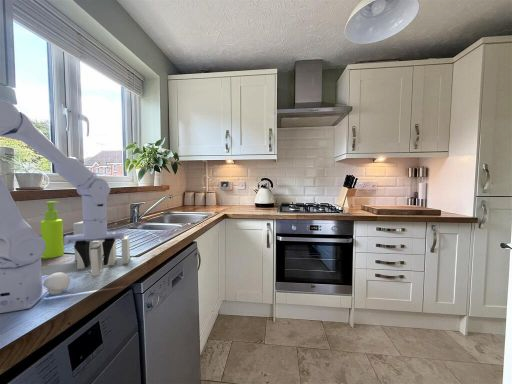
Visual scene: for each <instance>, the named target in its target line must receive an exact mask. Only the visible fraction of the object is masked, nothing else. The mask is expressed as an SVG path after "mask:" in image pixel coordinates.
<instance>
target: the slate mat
mask: <svg viewBox="0 0 512 384" xmlns="http://www.w3.org/2000/svg"><path fill="white" fill-rule="evenodd" d="M116 258H117V260H116V262H115V264H114V265H108V264H107V265H104V259H103V262H102V270H104V269H108V268H109V269H111V268H119V267H126V266H128V265H129V264H130V260H131V258H132V256H130V260H129V262H128V263H125V264H122V257H116ZM41 269H42V277H43V276H50V275H51V274H54V273H58V272H62V273H65V274H69V273H76V272H77V273H78V272H85V271H91V260H90V265H89V266H88V267H85V268H82V269H77V262H69V263H62V264H52V265H51V264H50V265H45V266H44V267H42V268H41Z"/></svg>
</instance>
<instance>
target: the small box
mask: <svg viewBox="0 0 512 384" xmlns="http://www.w3.org/2000/svg"><path fill="white" fill-rule="evenodd" d="M72 227H73V230H72V231H73V235H78V234H83V220H82V221H79V222H74V223H72ZM104 241H105V240H102V243H103V242H104ZM92 242H93V241H90V245H89V257H90V261H91V250H90V248H92ZM75 244H76V243H73V246H74V245H75ZM102 254H103V255H104V252H103V245H102ZM74 260H76V261H77V250H76V249H75V248H74Z"/></svg>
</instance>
